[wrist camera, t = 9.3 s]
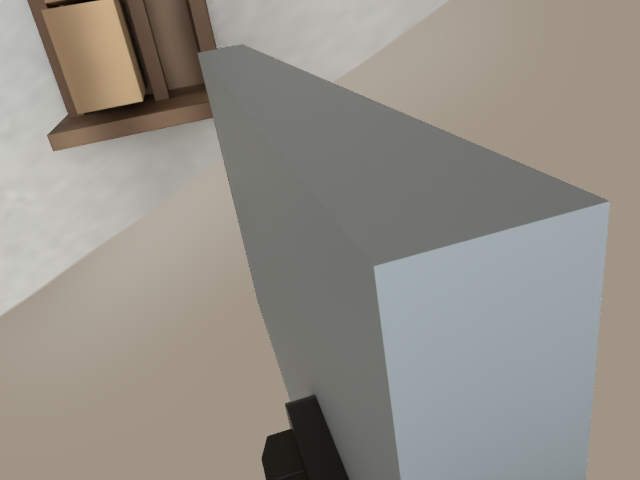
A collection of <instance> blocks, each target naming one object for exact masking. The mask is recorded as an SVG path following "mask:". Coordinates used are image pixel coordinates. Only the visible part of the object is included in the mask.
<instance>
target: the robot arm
mask: <svg viewBox="0 0 640 480" xmlns="http://www.w3.org/2000/svg"><path fill="white" fill-rule="evenodd" d="M285 407H286V411H287V415H288V420H289V423H290V428H291V429H289V430H286V431H283V432H280V433H277V434H273V435H270V436H268V437H267V440H266V444H265V448H264V451H263V455H262V463H263V467H264V472H265V476H266V480H349V478H348V475H347V473H346V470H345V468H344V465H343V463H342V460H341V458H340V455H339V453H338V450H337V448H336V445H335V443H334V440H333V438H332V435H331V433H330V430H329V428H328V425H327V423H326V420H325V418H324V415H323V413H322V410H321V408H320V405H319V403H318V400H317V398H316V396H315V394H314V395H311V396H307V397H304V398H301V399H298V400H295V401H292V402H289V403H286V404H285Z"/></svg>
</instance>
